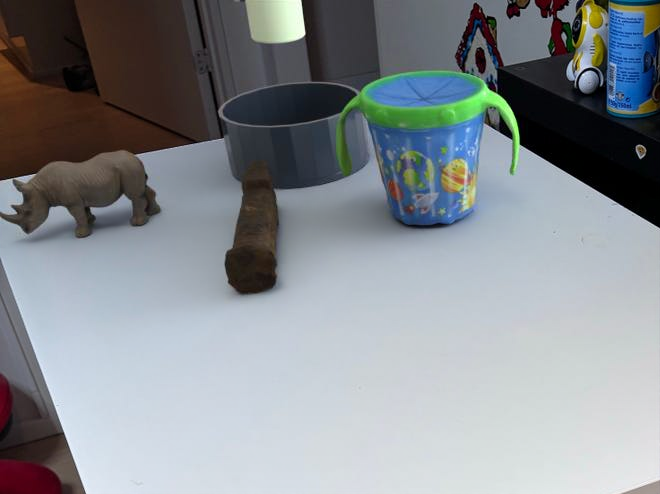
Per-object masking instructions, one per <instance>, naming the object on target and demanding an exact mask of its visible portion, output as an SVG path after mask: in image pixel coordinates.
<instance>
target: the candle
mask: <svg viewBox="0 0 660 494" xmlns="http://www.w3.org/2000/svg"><path fill="white" fill-rule="evenodd" d="M244 3H245V7H246V14H247V20H248V26H249V33H250V38H251V39H252V40H253V41H254V42H256V43H260V44H270V45H271V44H273V45H274V44H284V43H285V44H286V43H291V42H296V41H299V40H301V39H302V38H304V37H305V35H306V28H305V21H304V14H303V13H304V12H303V6H302V5H303V4H302V0H245V2H244Z"/></svg>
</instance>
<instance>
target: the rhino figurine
mask: <svg viewBox="0 0 660 494" xmlns="http://www.w3.org/2000/svg"><path fill="white" fill-rule="evenodd" d="M148 180H149V175H148V173H147V172H146V168H145V165H144V163H143V161H142V160H141V159H140V158H139V157H138V156H137V155H135V154H134V153H132V152H129V151H128V150H124V149H120V150H116V151H109V152H102V153H98V154H97V155H95V156H93V157H92V158H90V159H88V160H84V161H82V162H70V161H64V160H58V161H52V162H49V163H47V164H46V165H44V166H43V167H42V168H40V170H39V171H37V173H36V174H34V175H33V177H32V178H30V179H29V180H28V181H27V182H23V181H20V180H17V179H15V178H12V184H13V186H14V187H15V189H16V190H17V191H18V192H19V193H21V194H22V203H21V204H10V207H11V209H13V210H14V211H15V214H14V213H13V214H8V213H3V212H2V211H0V218H1V219H2V220H3V221H6V222H9V223H10V224H13V225H15V226H16V225H17V226H19V227H20V228H21V231H23V232H24V233H25V234H26V235H30V234H32V233H33V232H35V230H38V228H40V226H41V225H43V224H44V223H45V222H46V220H47V219H48V218H49V216H50V210H51V208H57V207H63V208H66V210H67V211H68V213H69V215H70V216H72V217H73V219H74V221H75V222H76V229H75V233H74V234H75V237H76V238H84V237H87V236H89V235H90V234H91V233H92V228H91V226H92V225H94V224H95V223H96V221H97V217H96V215H94V214H93V213H92V209H91V208H95V209H97V208H98V209H100V208H101V209H102V208H107V207H110V206H112V205H114V204H115V203H116V202H118V201H119V200H120V198H122V196H125V198H127V199H128V200H130V202H131V206H132V207H131V208H132V215H131V217H130V218H129V223H130V225H131V226H142V225H144V224H145V223H147V222H148V221H149V216H148V215H153V214H156V213H158V212H160V211H161V209H162V207H161V206H160V205H159V204H158V203H157V201H156V200H157V199H156V197H157V193H156V191H155V189H153V188H152V187H150V186H149V185H148V184H147V183H148Z"/></svg>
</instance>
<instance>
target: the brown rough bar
mask: <svg viewBox="0 0 660 494" xmlns="http://www.w3.org/2000/svg"><path fill="white" fill-rule="evenodd" d="M240 183H241V191H242V196H241V204H240V208H239V213H238V217H237V220H236V225H235V229H234V235H233V242H232V246H231V247H232V248H230V249H227V250H226V253H225V255H224V264H223V265H224V270H225V274H226V278H227V279H228V280H227V284H228V285H230V286H231V288H233V290H235V291H236V292H237V293H239V294H241V295H244V294H245V295H246V294H257V293H260V292H263V291H267V290H270V289H272V288H274V286H276V283H277V279H278V275H277V273H276V270H277V267H278V259H277V257H276V252H277V228H278V226H279V225H280V220H279V219H280V217H279V209H278V203H277V194H276V191H275V188H274V187H273V182H272V177H271V173H270V169H269V166H268V165H267V164H266V162H264V161H262V160H257V161H255V162H252V163H250V164H249V165H248V166H247V169H246V171H245V173H244V174H243V176H242V181H241V182H240Z"/></svg>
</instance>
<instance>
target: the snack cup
mask: <svg viewBox="0 0 660 494" xmlns="http://www.w3.org/2000/svg"><path fill="white" fill-rule="evenodd" d="M359 92H360V94H359V95H357V96H356V97H354V98H353V99H352V100H351V101H350V102H349V103H348V104H347V106H346V107H345V108H344V110H343V111H342V113H341V115H340V118H339V121H338V124H337V130H336V152H337V158H338V162H339V166H340V168H341V171H342V173H343V174H344V175H345V176H346V177H349V176H351V175H352V174H351V171H352V162H351V159H350V154H349V150H348V146H347V142H346V138H345V134H344V131H345V124H346V118H347V116H348V114H349V113H350V112H351V111H352V110H353V109H354V108H355V109H358V110H360V111H361V112H362V114H363V115H364V117H365V121H366V122H367V127H368V130H369V133H370V137H371V141H372V145H373V149H374V153H375V157H376V162H377V166H378V169H379V173H380V177H381V178H380V179H381V182H382V185H383V188H384V191H385V194H386V195H385V196H386V202H387V204H388V206H389V209H390V212H391V213H392V216H394V217H395V218H396V219H397V220H399V221H401V222H402V223H404V224H406V225H408V226H412V225H414V226H415V225H417V226H432V225H435V224H442V225H443V224H444V225H452V224H453V223H454V222H455V221H458V220H461V219H464V218H465V216H467V215H469V213H470V212H473V211H474V208H475V203H476V199H477V198H476V197H477V185H478V175H479V163H480V151H481V141H482V138H483V132H484V125H485V119H486V114H487V109H488V108H490V107H491V108H495V109H496V110H497V111H498V113H499V115H500V117H501V118H502V119H503V121H504V122H505V124H506V125H507V127H508V129H509V131H510V132H511V134H512V142H511V164H510V167H509V174H510V175H511V176H514V175H515V172H516V170H517V169H516V168H517V164H518V160H519V154H520V153H519V152H520V133H519V127H518V122H517V119H516V117H515V114H514V112H513V110H512V109H511V107H510V105H509V104H508V103H507V101H506V100H505V99H504V98H503V97H502V96H501V95H499V94H498V93H496V92H494V91H493V90H490V89H489V87H488V86H487V84H486V82H485V81H484V80H483V79H481V78H480V77H478V76H475V75H474V74H469V73H465V72H458V71H451V70H419V71H410V72H409V71H408V72H403V73H397V74H393V75H389V76H385V77H381V78H379V79H376V80H374V81H371V82H370V83H368V84H366V85H365V86H364V87H363V88H362V89H361V90H360V91H359ZM350 174H351V175H350Z"/></svg>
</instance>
